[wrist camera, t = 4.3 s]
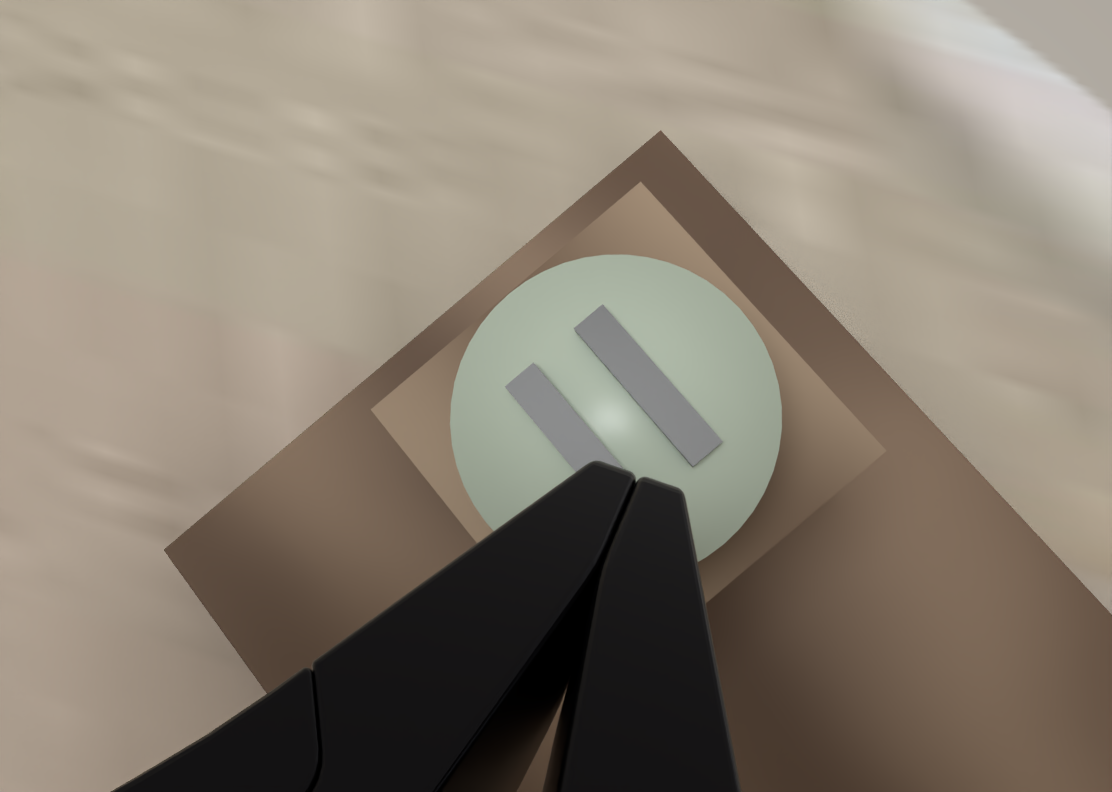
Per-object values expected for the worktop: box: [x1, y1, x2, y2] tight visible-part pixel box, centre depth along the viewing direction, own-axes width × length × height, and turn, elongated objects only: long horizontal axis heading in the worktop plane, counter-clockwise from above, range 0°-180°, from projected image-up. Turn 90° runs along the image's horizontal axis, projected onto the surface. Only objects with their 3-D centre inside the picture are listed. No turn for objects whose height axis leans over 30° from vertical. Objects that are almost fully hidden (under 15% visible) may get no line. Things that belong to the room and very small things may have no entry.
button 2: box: [450, 255, 782, 562], centre depth 14 cm, size 4×4×2 cm
